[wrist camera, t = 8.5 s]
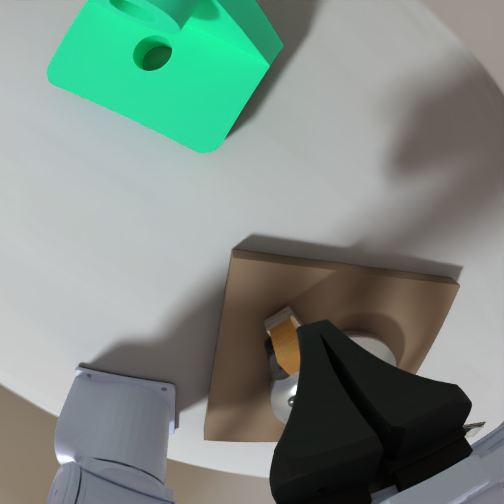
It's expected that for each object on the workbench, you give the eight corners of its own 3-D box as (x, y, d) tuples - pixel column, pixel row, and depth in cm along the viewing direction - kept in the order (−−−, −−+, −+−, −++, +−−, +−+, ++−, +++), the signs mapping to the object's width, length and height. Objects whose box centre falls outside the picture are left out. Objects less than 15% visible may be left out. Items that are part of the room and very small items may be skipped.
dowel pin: (262, 350, 22) (269, 380, 19) (266, 335, 22) (273, 365, 19) (280, 351, 23) (288, 380, 20) (284, 336, 22) (294, 365, 19)
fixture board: (203, 428, 28) (203, 440, 26) (231, 248, 21) (233, 257, 19) (372, 423, 31) (376, 432, 30) (450, 277, 24) (460, 285, 23)
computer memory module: (486, 424, 40) (473, 437, 41) (484, 420, 41) (471, 434, 42) (452, 429, 36) (437, 444, 37) (450, 425, 37) (435, 440, 38)
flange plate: (401, 374, 26) (422, 408, 21) (305, 430, 27) (316, 467, 23) (343, 265, 20) (373, 302, 16) (211, 349, 22) (212, 397, 17)
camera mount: (60, 84, 15) (-43, 68, 6) (118, -11, 13) (58, -87, 4) (213, 156, 18) (207, 183, 9) (275, 56, 16) (332, -8, 7)
